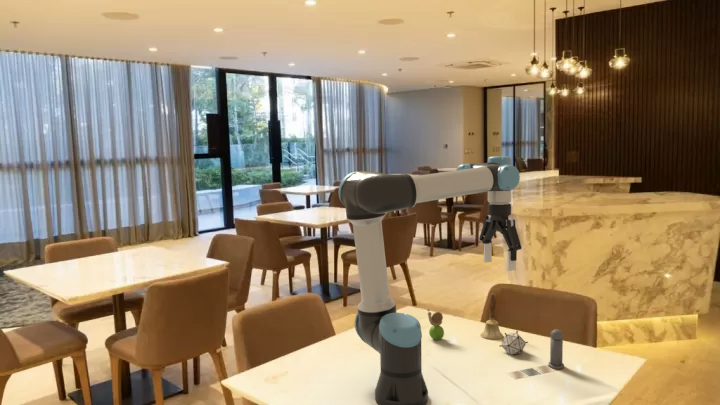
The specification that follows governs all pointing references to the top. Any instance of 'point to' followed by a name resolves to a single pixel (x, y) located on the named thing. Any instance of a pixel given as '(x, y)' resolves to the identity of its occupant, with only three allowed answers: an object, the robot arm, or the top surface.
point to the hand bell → (492, 323)
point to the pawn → (556, 350)
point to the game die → (513, 343)
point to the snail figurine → (436, 325)
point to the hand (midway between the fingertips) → (499, 266)
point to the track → (532, 371)
